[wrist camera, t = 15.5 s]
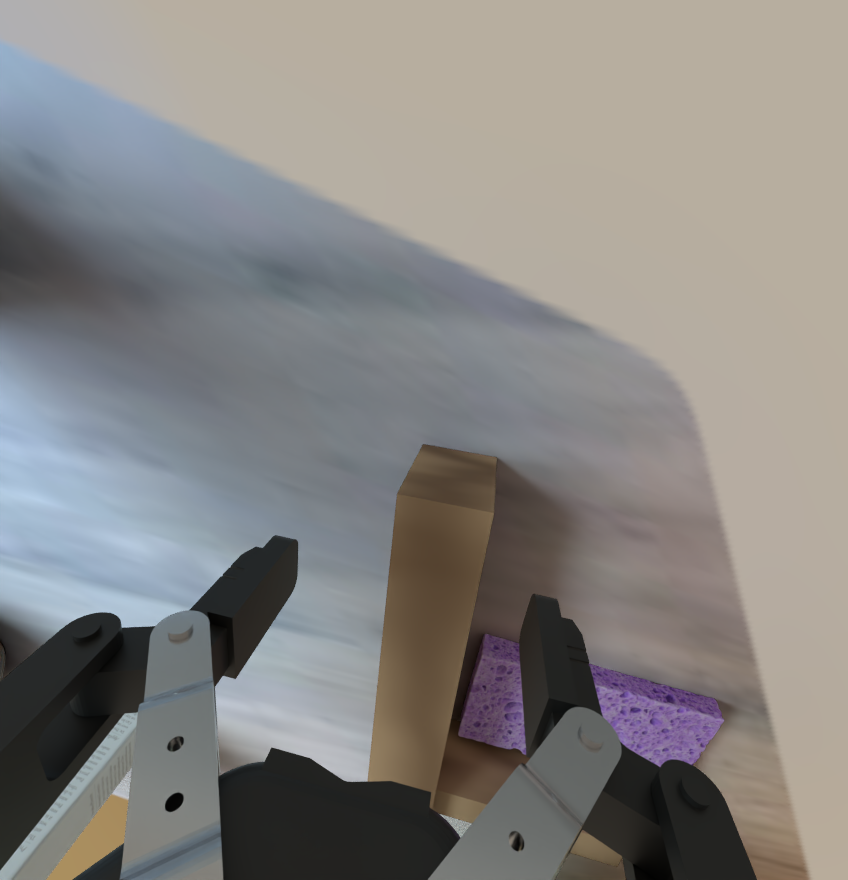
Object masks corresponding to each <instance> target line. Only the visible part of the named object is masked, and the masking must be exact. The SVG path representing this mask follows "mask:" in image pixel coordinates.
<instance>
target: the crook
mask: <svg viewBox="0 0 848 880" xmlns="http://www.w3.org/2000/svg"><path fill="white" fill-rule="evenodd" d="M496 467H497V457H492V456H486V455H480V454H475V453H469V452H464V451H458V450H453V449H447V448H442V447H436V446H430V445H425V444H423V445H422V447H421V449H420V451H419V453H418V455H417V457H416V459H415V461H414V463H413V465H412V466H411V468H410V470H409V472H408V474H407V476H406V478H405V480H404V482H403V484H402V486H401V487H400V489H399V491H398V493H397V500H396V510H395V520H394V529H393V539H392V549H391V559H390V568H389V578H388V588H387V598H386V607H385V617H384V627H383V637H382V646H381V656H380V666H379V675H378V685H377V695H376V705H375V714H374V724H373V734H372V744H371V753H370V763H369V773H368V782H371V781H393V782H397V783H400V784H404V785H407V786H411V787H415V788H418V789H422V790H425V791H429V792H431V799H430V808H431V809H433V810H434V811H436V812H437V813H439V814H442V815H446V816H449V817H452V818H456V819H459V820H462V821H466V822H469V823H473V822H474V821H475V819H476V818H477V817H478V816H479V814H480V813H481V812H482V811H483V809H484V808H485V807H486V805H487V804H488V803H489V802H490V800H491V799H492V798H493V797H494V795H495V794H496V793H497V792H498V790H499V789H500V788H501V786H502V785H503V784H504V783H505V781H506V780H507V779H508V778H509V776H510V775H511V774H512V773H513V771H514V770H515V769H516V768H517V767H518V766H519V765H520V764H521V763H523V764H524V765H525V764H526V763H527V762H528V761H529V759H530V758H528V757H526V755H525V754H522V752H521V751H520V750H519V749H516V748H513V749H505V748H502V747H497V746H493V745H490V744H487V743H485V742H479V741H476V740H473V739H468V738H464V737H460V736H459V735H458V732H459V727H460V721H459V720H456V719H452V718H451V717H452V712H453V707H454V702H455V698H456V693H457V688H458V683H459V679H460V674H461V669H462V664H463V659H464V655H465V650H466V645H467V640H468V636H469V631H470V626H471V621H472V616H473V612H474V607H475V602H476V597H477V593H478V588H479V583H480V578H481V574H482V569H483V564H484V559H485V554H486V550H487V545H488V540H489V535H490V531H491V526H492V521H493V516H494V506H495V487H496ZM570 853H572V854H575V855H579V856H582V857H585V858H589V859H592V860H595V861H599V862H602V863H605V864H609V865H612V866H615V867H617V866H618V864H619V863H620V861H621V859H622V856H621V855H619V854H618V853H616V852H615V851H613V850H612V849H610V848H609V847H608V846H606V845H605V844H603V843H602V842H600V841H599V840H597V839H596V838H594V837H593V836H591V835H590V834H588V833H587V832H585V831H584V830H582V832H581V834H580V836H579V838H578V839H577V841H576V843H575V845H574V847H573V848H572V850H571V852H570Z"/></svg>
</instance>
